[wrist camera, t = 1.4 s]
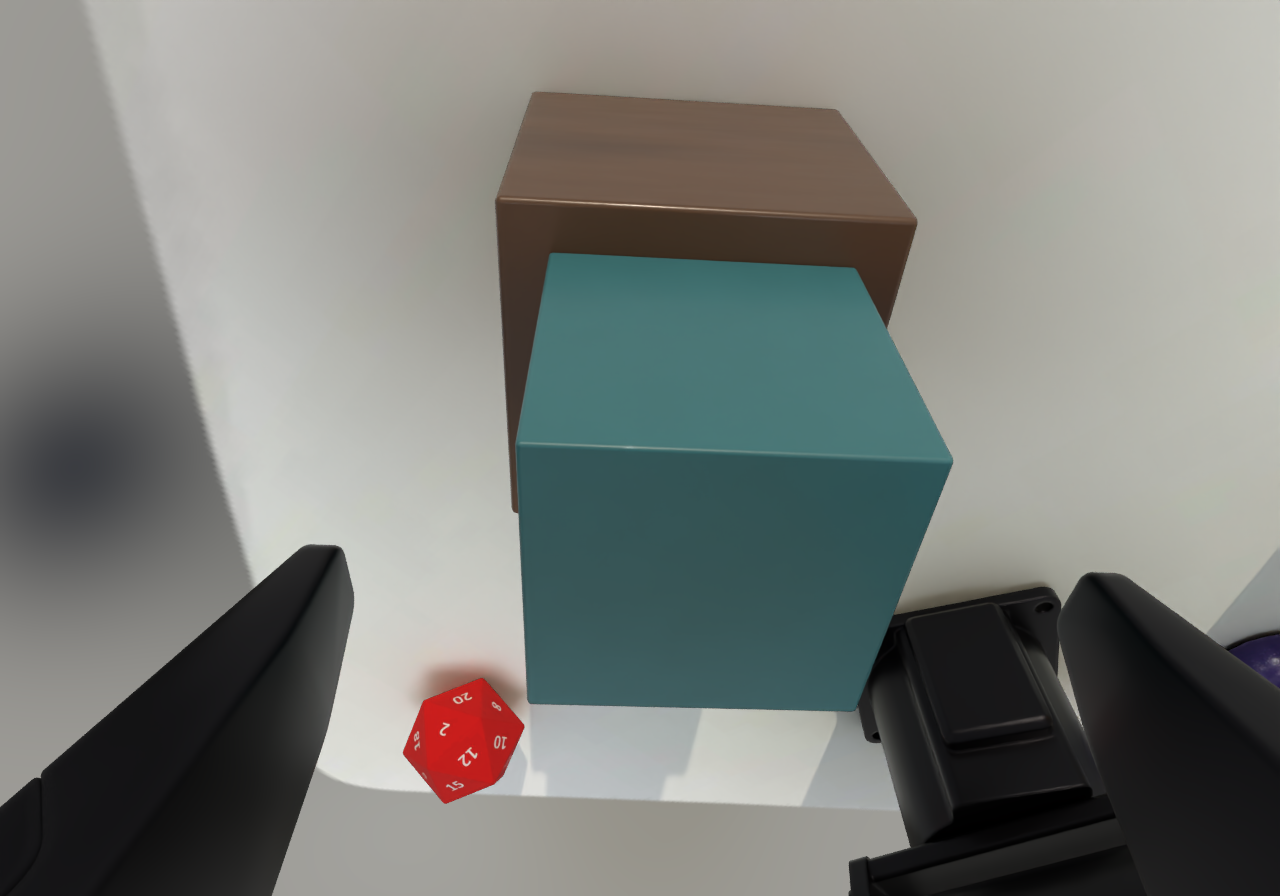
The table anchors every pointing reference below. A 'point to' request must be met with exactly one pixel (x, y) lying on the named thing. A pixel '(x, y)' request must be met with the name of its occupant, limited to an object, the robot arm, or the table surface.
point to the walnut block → (686, 200)
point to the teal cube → (715, 484)
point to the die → (463, 740)
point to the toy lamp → (1262, 657)
